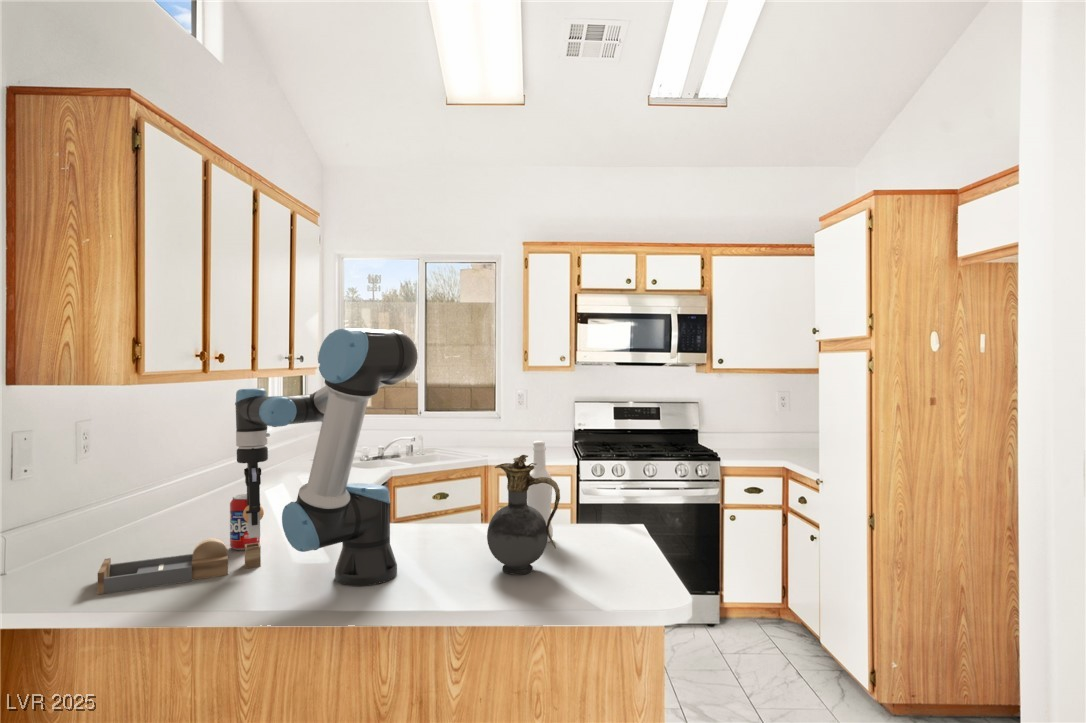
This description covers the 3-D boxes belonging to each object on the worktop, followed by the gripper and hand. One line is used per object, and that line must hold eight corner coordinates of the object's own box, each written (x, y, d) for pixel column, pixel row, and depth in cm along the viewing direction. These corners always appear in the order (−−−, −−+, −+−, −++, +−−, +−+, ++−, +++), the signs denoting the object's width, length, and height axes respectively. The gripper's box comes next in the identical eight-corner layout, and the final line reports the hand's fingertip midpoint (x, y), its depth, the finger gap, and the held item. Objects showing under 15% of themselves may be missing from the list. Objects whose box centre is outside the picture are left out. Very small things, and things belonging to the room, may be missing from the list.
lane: (191, 580, 157) (191, 566, 157) (103, 593, 148) (103, 578, 148) (192, 566, 167) (192, 553, 167) (110, 578, 158) (110, 564, 158)
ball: (264, 523, 167) (264, 504, 167) (243, 526, 164) (243, 507, 164) (263, 519, 171) (262, 501, 171) (242, 522, 169) (242, 503, 169)
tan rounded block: (227, 574, 161) (227, 543, 161) (191, 579, 157) (191, 547, 157) (226, 563, 170) (226, 533, 170) (192, 567, 166) (192, 537, 166)
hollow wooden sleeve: (260, 566, 167) (260, 546, 167) (245, 568, 166) (245, 548, 166) (259, 562, 171) (259, 542, 171) (244, 564, 169) (244, 544, 169)
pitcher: (495, 561, 172) (495, 450, 172) (564, 566, 168) (564, 453, 167) (482, 574, 161) (482, 457, 161) (555, 581, 157) (555, 460, 157)
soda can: (265, 544, 186) (265, 493, 186) (246, 552, 179) (246, 499, 179) (243, 542, 188) (243, 492, 188) (223, 550, 181) (223, 498, 181)
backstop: (103, 593, 148) (103, 572, 148) (97, 594, 148) (97, 573, 148) (110, 578, 158) (110, 558, 158) (104, 578, 158) (104, 558, 158)
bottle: (556, 542, 189) (557, 442, 189) (531, 545, 186) (531, 443, 186) (546, 535, 197) (546, 438, 196) (522, 538, 194) (522, 440, 193)
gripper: (270, 449, 162) (272, 540, 162) (265, 442, 178) (266, 525, 177) (237, 451, 158) (239, 545, 158) (235, 444, 174) (236, 529, 174)
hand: (253, 534), depth 168 cm, fingers closed on ball, 5 cm apart
